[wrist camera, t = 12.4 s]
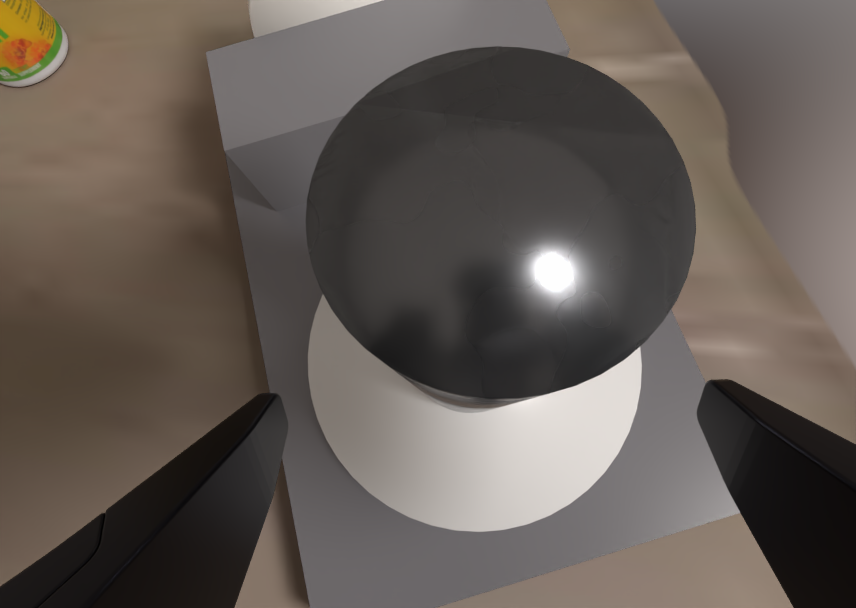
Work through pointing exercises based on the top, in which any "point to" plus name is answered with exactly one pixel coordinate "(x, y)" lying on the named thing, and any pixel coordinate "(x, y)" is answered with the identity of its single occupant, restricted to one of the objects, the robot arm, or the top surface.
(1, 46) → the supplement bottle
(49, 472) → the top surface
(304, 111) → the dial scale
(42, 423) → the top surface
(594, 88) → the ball
